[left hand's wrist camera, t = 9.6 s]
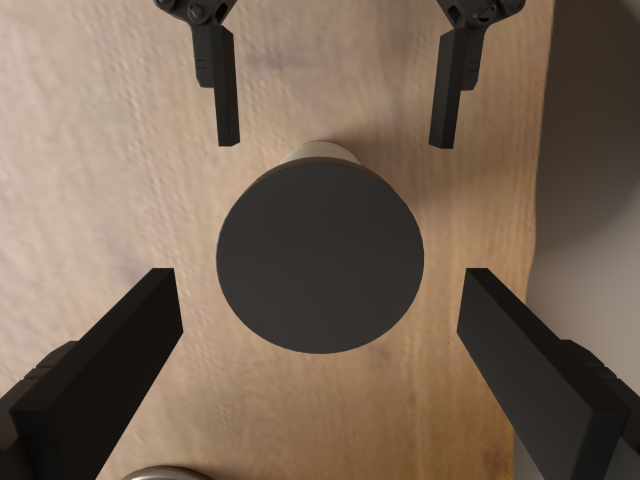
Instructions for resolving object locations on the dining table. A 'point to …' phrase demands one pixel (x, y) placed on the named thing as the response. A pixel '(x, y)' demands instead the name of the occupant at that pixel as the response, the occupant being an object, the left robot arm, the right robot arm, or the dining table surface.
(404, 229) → the lid
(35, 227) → the dining table surface
